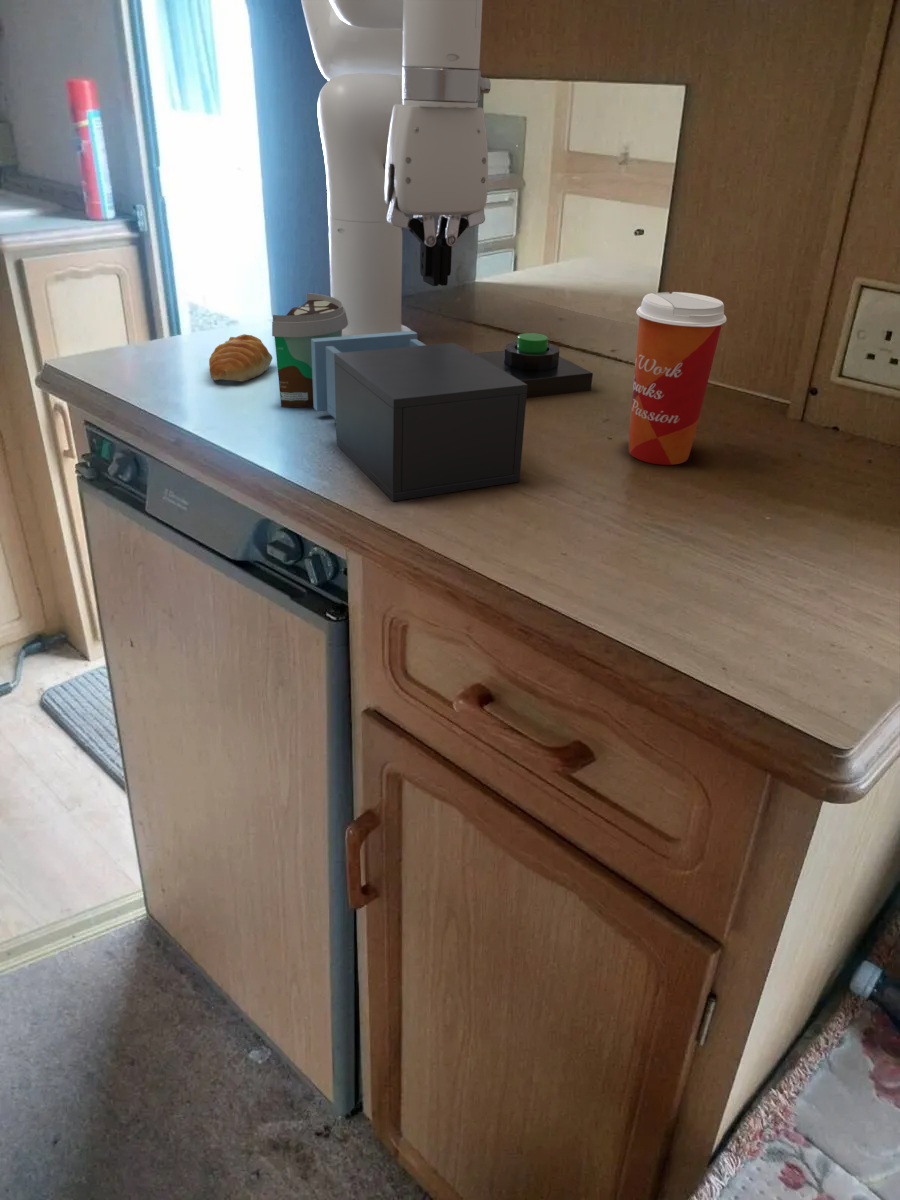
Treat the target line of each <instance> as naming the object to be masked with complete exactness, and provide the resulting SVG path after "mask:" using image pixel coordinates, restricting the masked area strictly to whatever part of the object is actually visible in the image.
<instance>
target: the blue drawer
mask: <svg viewBox="0 0 900 1200" xmlns="http://www.w3.org/2000/svg"><path fill="white" fill-rule="evenodd" d="M423 345H426V344H425V343H424V342H422V341H420V340H419V339H418V332H416V331H414V330H411V331H404V332H391V333H378V334H366V335H353V336H341V337H328V338H315V339H311V353H312V379H313V404H314V406H313V409H314V410H315V411H316V412H323V411H327V413H328V414H329V415H330V416H331V417H333V418H334V420H336V400H335V361H334V353H342V352H353V351H365V350H376V349H388V348H399V347H411V346H423Z"/></svg>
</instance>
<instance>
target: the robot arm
mask: <svg viewBox="0 0 900 1200" xmlns="http://www.w3.org/2000/svg"><path fill="white" fill-rule="evenodd" d="M300 2H301V6H302V7H301V8H302V10H303V11H302V12H303V16H304V20H305V25H306V27H307V33H308V36H309V39H310V44H311V49H312V53H313V56H314V58H315V62H316V64H317V67H318V69H319V71H320V73H321V75H322V76H323V77H324V78H325V79H326V80H327V81H326V82H325V84H324V85H323V86H322V88H321V89H320V91H319V93H318V94H319V95H318V99H317V106H316V107H317V120H318V121H317V122H318V128H319V133H320V140H321V144H322V152H323V158H324V159H323V160H324V166H325V175H326V176H325V177H326V178H325V179H326V190H327V191H326V193H327V195H326V196H327V216H328V247H329V249H328V250H329V284H330V288H329V289H330V297H333V298H336V299H338V300H340V301H341V302H342V305H343V307H344V309H345V311H346V316H347V320H348V325H347V327H345V328H344V329H342V336H353V335H366V334H378V333H391V332H404V331H412V329H411V328H410V327H407V325H403V324H402V305H403V304H402V301H403V300H402V299H403V298H402V296H403V295H402V293H403V292H402V291H403V287H402V286H403V229H405V230H408V231H409V232H410V233H411V235H413V237H414V238H415V240H416V241H417V243H419V244H420V245H419V247H420V249H419V273H420V274H419V275H420V276H421V277H422V281H423V283H426V284H428V285H430V286H432V287H438V286H441V287H443V286H445V287H446V286H448V283H449V282H448V281H449V276H451V273H452V253H453V247H454V246H455V245H456V244H457V241H458V239H459V237H460V236H461V235H462V234H463V233H464V231H465V230H466V229H468V228H472V227H476V226H480V225H482V224H484V223H485V221H486V215H485V210H484V209H485V208H486V205H487V200H488V192H489V191H488V189H489V151H488V138H487V127H486V119H485V112H484V108H483V107H479V102H480V100H481V96H482V95H484V94H485V95H486V94H489V93H490V92H491V86H492V85H491V80H490V78H484V77H482V71H481V70H480V61H481V42H482V41H481V38H482V21H483V0H300ZM384 164H385V168H384ZM409 215H410V216H409ZM435 216H438V222H437V223H438V224H437V228H436V223H435ZM436 229H437V230H436Z"/></svg>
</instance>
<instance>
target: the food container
mask: <svg viewBox="0 0 900 1200" xmlns="http://www.w3.org/2000/svg"><path fill="white" fill-rule="evenodd" d="M347 325H348V320H347V316H346V311H345V309H344V307H343V305H342V302H341V301H340V300H338V299H336V298H333V297H331V295H325V294H320V293H311V292H306V302H304V303H303V304H301V305H300V306H295V307H292V308H291V309H290V310H289V311H288V312H287V313H286V315H285V314H284V315H283V314H282V315H281V314H272V322H271V336H272V337H274V346H275V355H276V366H277V376H278V387H279V397H280V398H279V399H280V407H282V408H284V407H285V408H308V407H314V404H313V379H312V353H311V339H315V338H328V337H341V336H342V329H344V328H345V327H347Z"/></svg>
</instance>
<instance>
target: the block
mask: <svg viewBox="0 0 900 1200" xmlns="http://www.w3.org/2000/svg"><path fill="white" fill-rule="evenodd" d="M517 342H518V341H511V342H509V343H505V344H504V350H495V351H483V352H474V353H473V352H472V353H473V354H475V355H477V356H479V357H480V358H482V359H484V360H485V361H487V362H489V363H491V364H492V365H494V366H496V367H498V368H499V369H501V370H503V371H505V372H506V373H508V374H510V375H512V376H513V377H515V378H517V379H519V380H520V381H522V382H524V383H525V384H527V385H528V387H527V393H526V394H527V397H526V399H532V398H539V397H540V398H541V397H548V396H549V397H550V396H558V395H566V394H575V393H583V392H591V391H592V382H593V377H594V376H593V375H594V373H593V372H592V371H590V370H588V369H586V368H584V367H582V366H580V365H578V364H576V363H574V362H572V361H570V360H567V359H566V358H564V357H562V356H560V347H558V346H556V345H554V344H552V343H548V345H547V352H541V353H529V352H523V351H519V350H517Z"/></svg>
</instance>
